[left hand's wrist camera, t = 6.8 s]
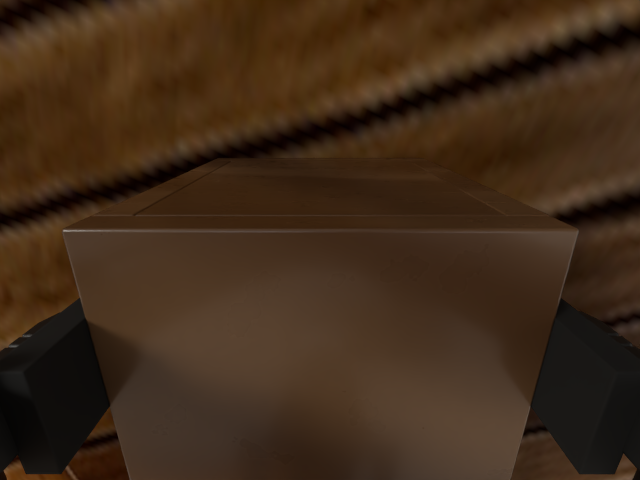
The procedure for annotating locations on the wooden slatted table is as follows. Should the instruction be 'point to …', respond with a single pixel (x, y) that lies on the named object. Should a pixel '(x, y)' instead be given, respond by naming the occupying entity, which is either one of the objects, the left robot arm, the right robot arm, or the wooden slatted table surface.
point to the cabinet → (320, 320)
